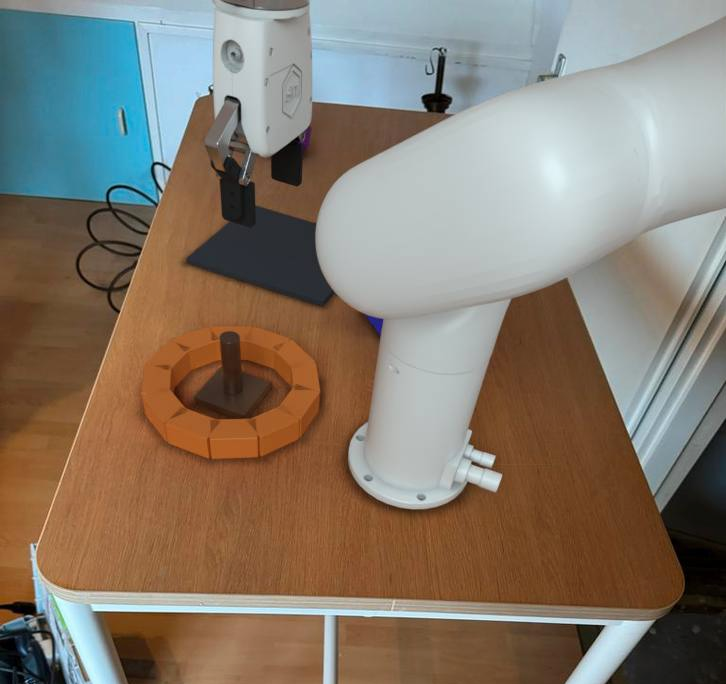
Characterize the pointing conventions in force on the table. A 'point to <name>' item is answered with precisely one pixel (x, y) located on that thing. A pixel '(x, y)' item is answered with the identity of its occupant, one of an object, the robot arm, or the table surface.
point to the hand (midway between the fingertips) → (263, 201)
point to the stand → (232, 384)
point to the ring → (230, 433)
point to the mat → (268, 256)
